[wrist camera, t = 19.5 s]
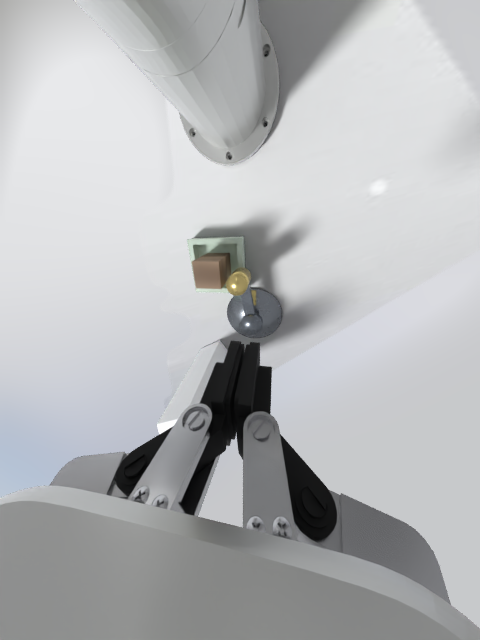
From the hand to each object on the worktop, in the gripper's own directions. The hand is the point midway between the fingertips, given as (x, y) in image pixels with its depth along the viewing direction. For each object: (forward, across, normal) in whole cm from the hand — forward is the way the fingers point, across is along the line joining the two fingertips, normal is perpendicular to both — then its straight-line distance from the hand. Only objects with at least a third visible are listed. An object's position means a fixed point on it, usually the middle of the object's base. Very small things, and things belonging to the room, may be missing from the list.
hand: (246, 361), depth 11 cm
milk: (+24, +11, +21) cm, 34 cm away
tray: (+24, +8, 0) cm, 26 cm away
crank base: (+24, +2, +10) cm, 26 cm away
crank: (+21, +3, +6) cm, 22 cm away
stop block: (+24, +8, 0) cm, 25 cm away
